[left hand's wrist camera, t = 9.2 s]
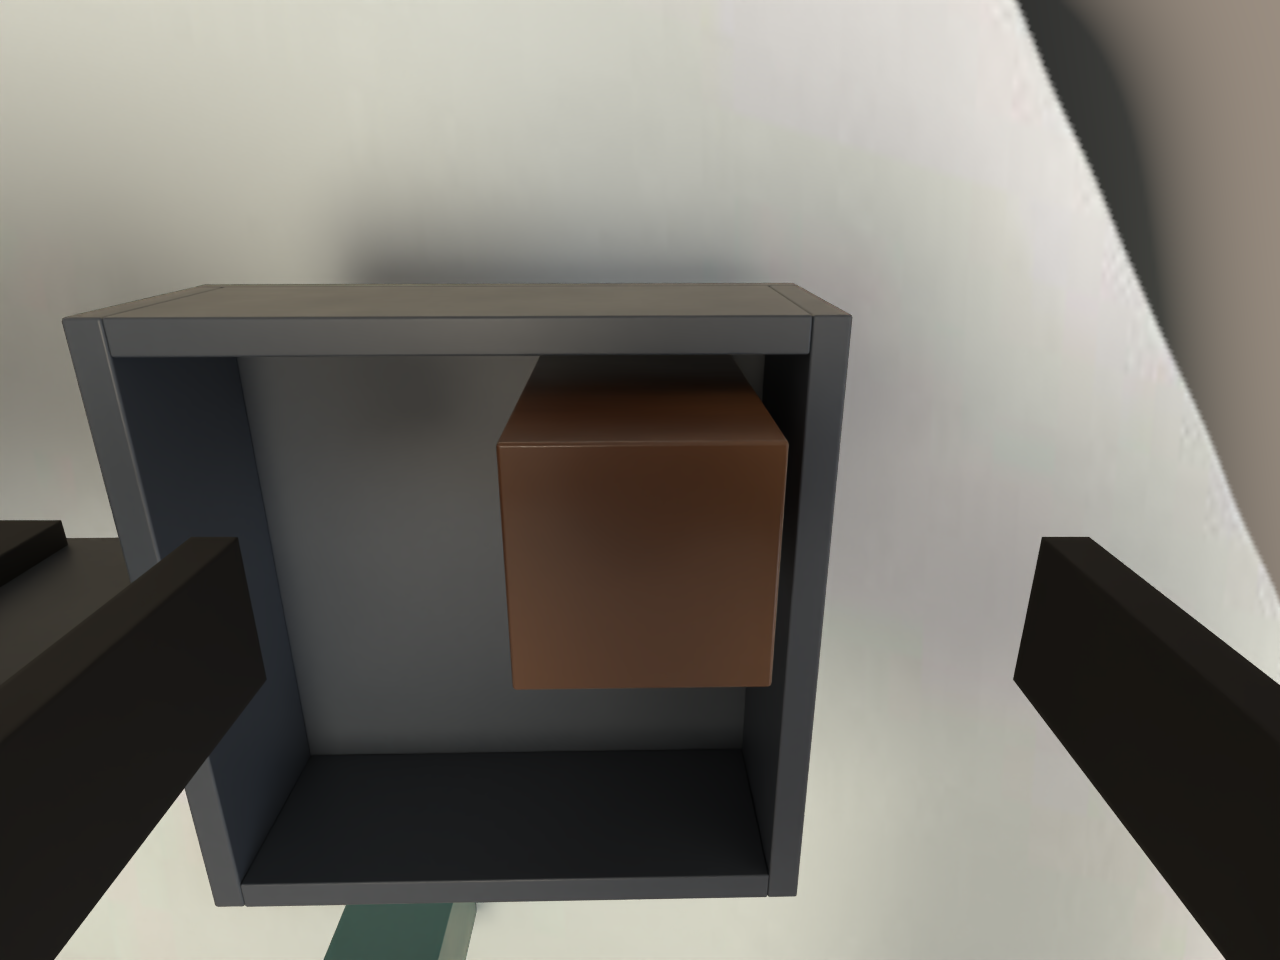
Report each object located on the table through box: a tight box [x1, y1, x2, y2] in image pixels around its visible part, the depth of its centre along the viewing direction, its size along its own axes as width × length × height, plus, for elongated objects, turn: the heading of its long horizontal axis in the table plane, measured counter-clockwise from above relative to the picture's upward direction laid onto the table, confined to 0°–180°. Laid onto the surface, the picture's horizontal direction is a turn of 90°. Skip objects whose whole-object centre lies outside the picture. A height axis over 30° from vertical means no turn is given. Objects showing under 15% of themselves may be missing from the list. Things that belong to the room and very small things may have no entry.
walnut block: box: [496, 355, 789, 690], centre depth 18 cm, size 5×5×8 cm
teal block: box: [324, 902, 476, 960], centre depth 37 cm, size 5×5×8 cm
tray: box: [0, 283, 852, 907], centre depth 19 cm, size 25×16×9 cm, turn 90°
